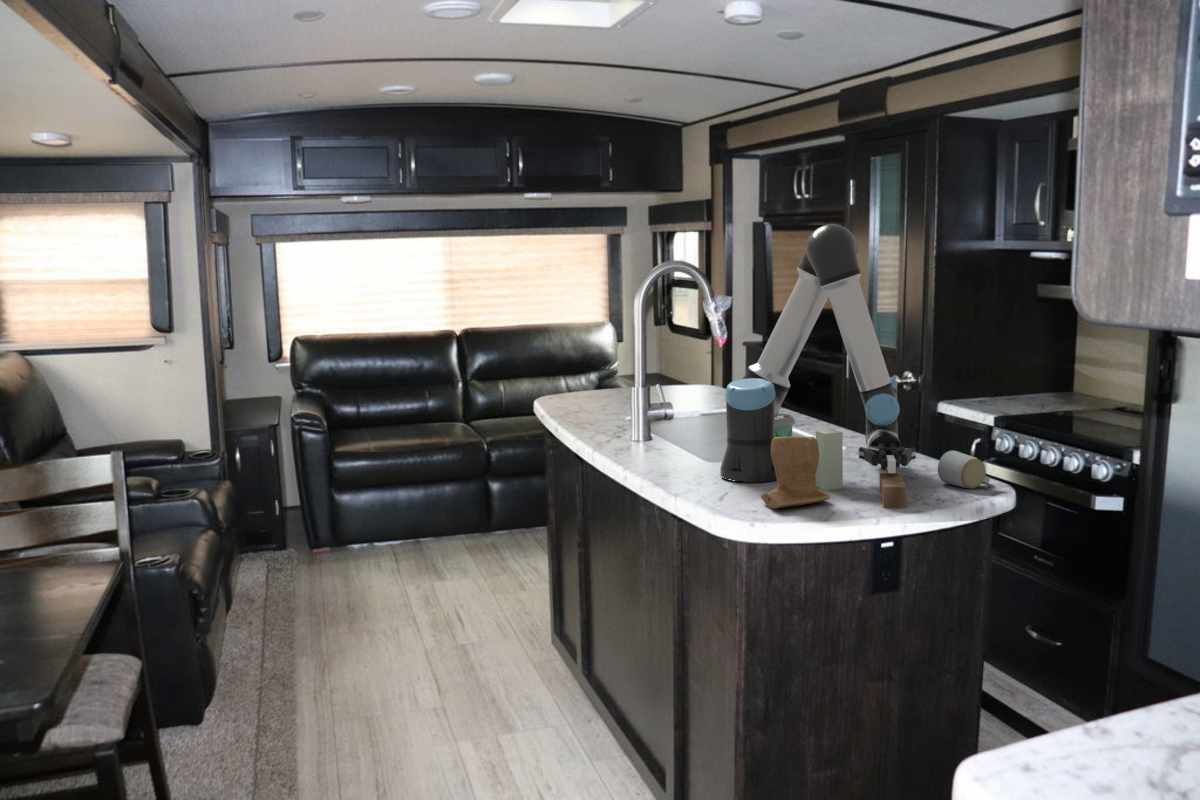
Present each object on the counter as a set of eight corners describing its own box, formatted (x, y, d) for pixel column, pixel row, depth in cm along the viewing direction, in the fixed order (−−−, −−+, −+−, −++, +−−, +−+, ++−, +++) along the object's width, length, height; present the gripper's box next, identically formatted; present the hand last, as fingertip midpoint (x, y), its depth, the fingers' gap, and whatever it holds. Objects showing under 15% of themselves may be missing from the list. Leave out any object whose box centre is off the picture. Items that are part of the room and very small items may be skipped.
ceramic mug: (962, 491, 216) (963, 457, 215) (936, 484, 223) (937, 451, 222) (999, 486, 220) (1000, 453, 219) (972, 480, 228) (972, 447, 227)
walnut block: (879, 492, 218) (883, 507, 204) (879, 472, 217) (883, 486, 204) (900, 493, 217) (905, 508, 203) (900, 473, 216) (906, 487, 203)
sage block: (824, 490, 222) (824, 433, 221) (815, 485, 227) (815, 430, 225) (842, 488, 223) (842, 432, 222) (833, 484, 228) (833, 429, 226)
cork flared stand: (804, 494, 219) (804, 428, 217) (838, 504, 208) (837, 435, 206) (747, 503, 213) (746, 435, 211) (778, 514, 202) (777, 442, 200)
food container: (795, 456, 263) (794, 419, 262) (771, 456, 264) (771, 419, 263) (795, 447, 275) (795, 412, 274) (773, 447, 276) (772, 412, 275)
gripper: (913, 462, 233) (923, 484, 210) (856, 462, 236) (861, 483, 213) (913, 431, 232) (924, 449, 209) (856, 431, 235) (860, 449, 212)
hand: (892, 466), depth 211 cm, fingers closed
